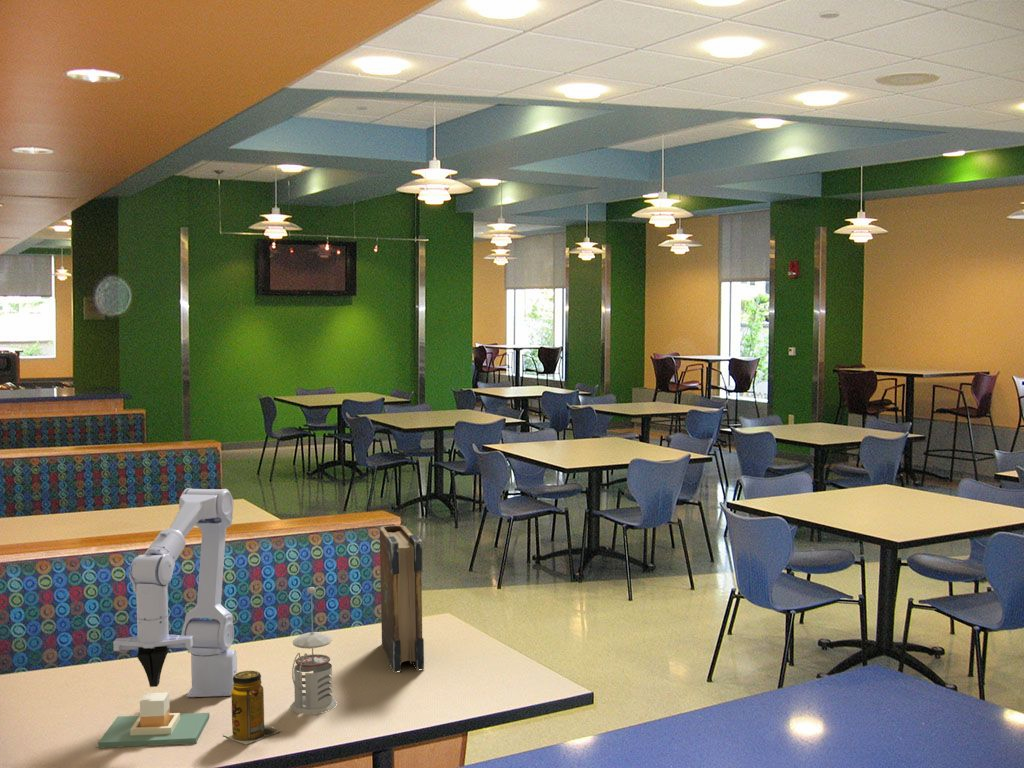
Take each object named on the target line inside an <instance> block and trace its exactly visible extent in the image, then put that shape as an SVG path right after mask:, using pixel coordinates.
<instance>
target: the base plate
mask: <svg viewBox="0 0 1024 768" xmlns="http://www.w3.org/2000/svg"><path fill="white" fill-rule="evenodd" d="M209 717H211V716H210V712H193V713H180V712H173V713H172V712H170V723H169V725H168V726H162V727H141V726H140V715H123V716H121V715H119V716H116V718H115V720H113V721H112V723H111V724H110V726H109V727H108V729H107V730H106V731H105V732H104V734H103V735H102V737H101V738H100V739H99V741H98V742H97V748H98V749H102V748H120V747H121V748H122V747H123V746H126V747H143V746H144V747H146V746H147V745H148V746H164V745H165V746H167V745H185V744H186V745H189V744H197V743H198V741H199V739H200V737H201V735H202V733H203V731H204V729H205V727H206V725H207V724H208V721H209V719H210V718H209ZM148 746H147V747H148ZM123 748H124V747H123Z"/></svg>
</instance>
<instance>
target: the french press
mask: <svg viewBox="0 0 1024 768" xmlns="http://www.w3.org/2000/svg"><path fill="white" fill-rule="evenodd" d="M306 593H307V594H310V600H311V601H310V602H311V603H310V604H311V607H310V609H311V632H305V633H303V634H300V635H299V636H297V637H296V638H295V639H294V640H292V645H293V646H295V647H296V648H299V649H311V653H310V654H307V653H304V655H301V653H300V652H298V653H297V654H296V656H295V658H294V659H293V663H292V667H291V668H292V671H291V675H292V677H291V679H292V683H293V686H294V692H293V693H294V701H293V702H292V703H291V704H290V705H289V710H290V709H291V711H292V712H293V711H294V712H293V713H296V712H297V714H300V713H301V715H316V713H319V714H322V713H321V712H323V713H326V712H325V711H327V712H329V711H328V710H330V711H331V709H332V710H333V708H334V707H335V706H336V704H337V705H338V702H337V703H336V699H334V698H333V695H332V694H333V689H331V688H333V683H331V682H333V678H332V677H331V676H333V667H332V666H333V665H332V663H330V661H331V658H330V656H328V655H326V654H322V653H321V654H319V653H315V654H314V649H318V648H322V647H325V646H328V645H329V644H331V642H333V639H332V637H331V636H329V635H327V634H326V633H322V632H318V631H314V626H313V624H314V622H313V619H314V618H313V594H315V593H316V594H317V590H316V587H314V586H310V587H308V588H307V590H306ZM295 664H296V665H295ZM303 673H304V674H303ZM303 679H304V680H303ZM303 685H305V686H303ZM303 691H305V692H303ZM336 707H337V706H336ZM336 707H335V708H336ZM335 708H334V709H335ZM302 713H303V714H302Z"/></svg>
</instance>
